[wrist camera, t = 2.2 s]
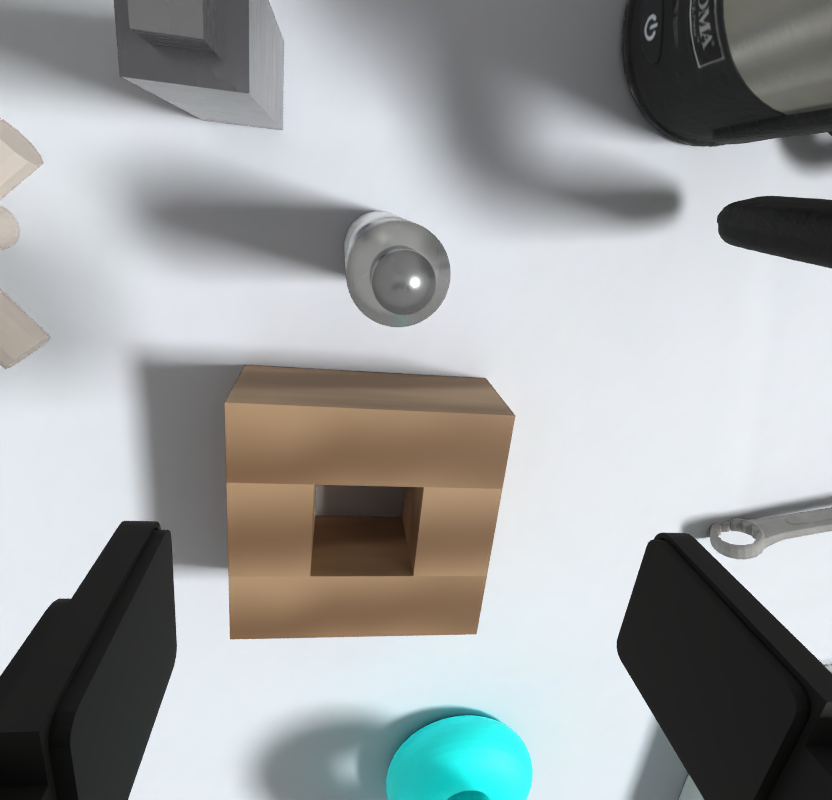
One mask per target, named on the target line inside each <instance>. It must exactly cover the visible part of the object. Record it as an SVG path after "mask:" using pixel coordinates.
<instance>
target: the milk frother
mask: <svg viewBox="0 0 832 800" xmlns="http://www.w3.org/2000/svg"><path fill="white" fill-rule="evenodd" d="M622 49H623V60H624V68H625V73H626V76H627V81H628V84H629V87H630V89H631V92H632V95H633V97H634V99H635V101H636V103H637V105H638V107H639V108H640V110H641V111H642V113H643V114H644V116H645V117H646V119H647V120H648V121H649V122H650V123H651V124H652V125H653V126H655V127H656V128H657V130H659V131H660V132H662V133H664V134H665V135H667V136H668V137H670V138H672V139H674V140H676V141H678V142H681V143H685V144H689V145H692V146H710V147H711V146H719V145H725V144H741V143H749V142H755V141H761V140H767V139H773V138H780V137H789V136H798V135H809V134H816V133H824V132H828V133H829V134H830V135H831V136H832V0H628V3H627V7H626V12H625V20H624V24H623V47H622ZM717 223H718V232H719V235H720V237H721V238H722V239H723V240H724V241H725V242H726V243H728V244H731V245H733V246H737V247H741V248H745V249H748V250H754V251H758V252H762V253H766V254H770V255H775V256H779V257H784V258H787V259H792V260H796V261H801V262H805V263H810V264H815V265H819V266H823V267H828V268H832V200H826V199H812V198H797V197H782V196H762V197H755V198H751V199H746V200H742V201H737V202H734V203H731V204H729V205H727V206H726V207H724V208H723V210H722V211H721V212H720V214H719V215H718V217H717Z"/></svg>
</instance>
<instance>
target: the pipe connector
mask: <svg viewBox="0 0 832 800" xmlns="http://www.w3.org/2000/svg"><path fill="white" fill-rule="evenodd" d="M42 164H43V161H42V158H41V155H40V154H39V153H38V151H37V150H36V149H35V147H34V146H33V145H32V143H31V142H30V141H28V140H27V139H26V138H25V137H24V136H23V135H22V134H21V133H20V132H19V131H18V130H17V129H15V128H14V127H13V126H11V125H10V124H9V123H7V122H6V121H5V120H3V119H1V118H0V200H1V199H2V198H3V197H4V196H5V195H7V194H8V193H9V192H10V191H11V190H13V189H14V188H15V187H16V186H17V185H18V184H20V183H21V182H22V181H23V180H24V179H26V178H27V177H28V176H29V175H30V174H31V173H33V172H34V171H35V170H36V169H37V168H39V167H40V166H41V165H42ZM18 237H19V226H18V223H17V221H16V219H15V218H14V216H13V215H12V214H11V213H10V212H9V211H8V210H7V209H5V208H3V207H2V206H0V249H5V248H9V247H11V246H12V245H14V244H15V242H16V241H17V239H18ZM49 339H50V336H49V335H48V334H47V333H46V332H45V331H44V330H43V329H42V328H41V327H40V326H39V325H38V324H37V323H36V322H34V321H33V320H32V319H31V318H30V317H29V316H28V315H27V314H26V313H25V312H24V311H23V310H22V309H21V308H20V307H19V306H18V305H17V304H16V303H15V302H13V301H12V300H11V299H10V298H9V297H8V296H7V295H6V294H5V293H4V292H3V291H2V290H1V289H0V365H1V366H3V367H4V368H5V369H7V368H10V367H12V366H13V365H15V364H17V363H18V362H20V361H21V360H23V359H24V358H26V357H27V356H29V355H30V354H32V353H33V352H34V351H36V350H37V349H38V348H40V347H41V346H42V345H43V344H44V343H46V342H47V341H48V340H49Z"/></svg>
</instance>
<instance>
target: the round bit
mask: <svg viewBox="0 0 832 800" xmlns="http://www.w3.org/2000/svg"><path fill="white" fill-rule="evenodd" d="M344 254H345V267H346V279H347V286H348V289H349V293H350V295H351V297H352V299H353V301H354V303H355V304H356V306H357V307H358V308H359V310H360V311H361V312H362V313H363V314H364V315H366V316H367V317H368V318H370V319H371V320H373V321H375V322H377V323H379V324H382V325H386V326H391V327H405V326H410V325H414V324H417V323H419V322H421V321H423V320H425V319H426V318H428V317H429V316H430V315H432V314H433V313H434V312H435V311H436V310H437V309H438V307H439V306H440V305H441V303H442V302H443V300H444V298H445V296H446V294H447V291H448V288H449V283H450V264H449V259H448V256H447V253H446V251H445V249H444V247H443V246H442V244H441V243H440V241H439V240H438V239H437V238H436V236H435V235H433V234H432V233H431V232H430V231H429V230H427V229H426V228H424V227H422V226H420V225H418V224H416V223H413V222H411V221H408V220H406V219H403V218H401V217H398V216H396V215H393V214H391V213H388V212H383V211H374V212H369V213H366V214H364V215H362V216H360V217H359V218H358V219H356V220H355V221H354V222H353V223H352V225H351V226H350V227H349V229H348V231H347V234H346V237H345V241H344Z"/></svg>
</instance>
